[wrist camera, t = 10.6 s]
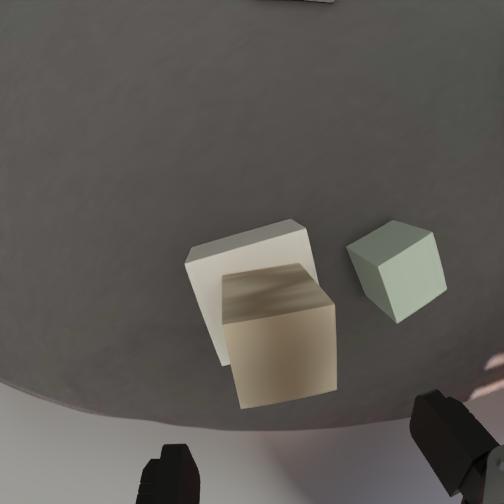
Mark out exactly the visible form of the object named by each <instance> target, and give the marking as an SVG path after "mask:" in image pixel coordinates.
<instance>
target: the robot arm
mask: <svg viewBox="0 0 504 504" xmlns="http://www.w3.org/2000/svg"><path fill="white" fill-rule="evenodd" d="M410 433H411V436H412V438H413V439H414V441H415V442H416V444H417V446H418V447H419V449H420V450H421V452H422V453H423V455H424V456H425V458H426V460H427V461H428V462H429V464H430V466H431V467H432V469H433V470H434V472H435V474H436V475H437V477H438V478H439V480H440V482H441V483H442V485H443V486H444V488H445V489H446V491H447V492H448V494H449V496H450V497H452V496H454V495H456V494H458V493H460V492H461V493H462V495H463V498H462V501H461V504H504V445H499V444H498V443H497V442H496V440H495V439H494V438H493V437H492V436H491V435H490V434H489V432H488V431H487V430H486V429H485V428H484V427H483V426H482V425H481V423H480V422H479V421H478V420H477V419H475V417H474V416H473V415H472V414H471V413H469V410H468V409H467V408H466V407H465V406H464V405H463V404H462V403H461V402H460V401H458V400H456V399H454V398H452V397H448V398H445V397H444V396H443V395H442V393H441V392H440V391H439V390H437V389H433V390H430V391H428V392H425V393H423V394H420V395H418V396H417V397H416V398H415V402H414V407H413V411H412V416H411V420H410ZM140 483H141V484H140V485H139V490H138V493H139V494H138V495H137V499H136V504H199V501H200V475H199V471H198V468H197V466H196V463H195V461H194V459H193V457H192V455H191V453H190V450H189V448H188V446H187V445H186V444H164V446H163V447H162V451H161V457H160V459H151V460H150V461H149V462H148V464H147V465H146V466H145V468H144V469H143V472H142V476H141V481H140Z"/></svg>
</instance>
